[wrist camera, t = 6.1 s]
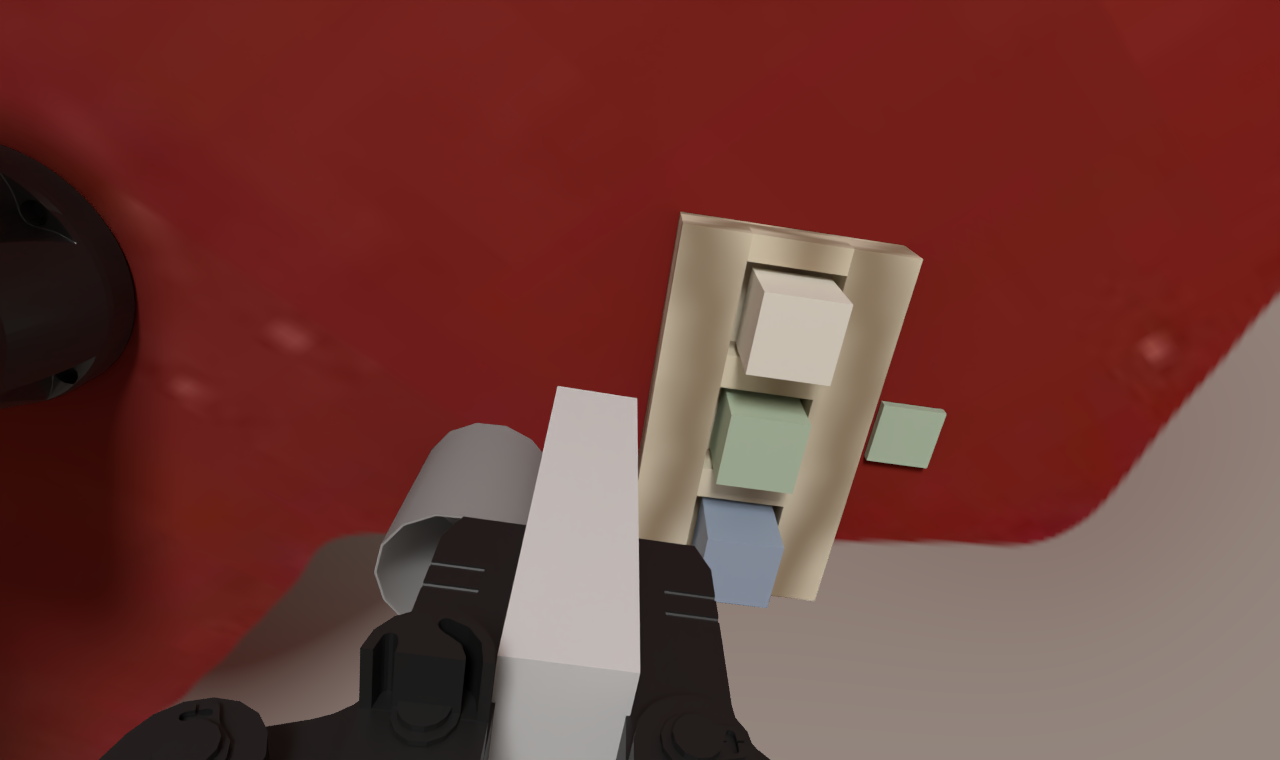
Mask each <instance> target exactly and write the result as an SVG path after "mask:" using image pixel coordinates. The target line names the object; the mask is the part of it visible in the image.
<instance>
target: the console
mask: <svg viewBox="0 0 1280 760" xmlns="http://www.w3.org/2000/svg"><path fill="white" fill-rule="evenodd" d="M922 261H923V259H922V258H921V257H919V256H918V255H916V254H915V253H914V252H912V251H911V250H910V249H908V248H907V247H906V246H903V245H896V244H890V243H883V242H877V241H870V240H863V239H857V238H850V237H844V236H837V235H830V234H824V233H817V232H811V231H804V230H797V229H791V228H784V227H778V226H771V225H765V224H758V223H751V222H745V221H738V220H732V219H725V218H718V217H712V216H705V215H699V214H692V213H685V212H680V216H679V222H678V228H677V234H676V240H675V246H674V251H673V257H672V263H671V269H670V275H669V281H668V286H667V292H666V298H665V304H664V310H663V316H662V322H661V327H660V333H659V339H658V345H657V351H656V357H655V363H654V368H653V374H652V380H651V386H650V392H649V398H648V403H647V409H646V415H645V421H644V427H643V433H642V439H641V444H640V450H639V456H638V523H639V538H640V539H647V540H654V541H662V542H669V543H676V544H683V545H690V546H691V544H692V540H693V535H694V531H695V526H696V521H697V517H698V512H699V508H700V503H701V499H702V496H703V497H711V498H719V499H727V500H734V501H742V502H750V503H758V504H765V505H772V507H773V511H774V514H775V518H776V521H777V525H778V528H779V532H780V535H781V539H782V543H783V546H784V551H783V554H782V558H781V561H780V565H779V568H778V572H777V575H776V579H775V582H774V586H773V589H772V593H771V596H778V597H786V598H794V599H802V600H810V601H815V598H816V595H817V592H818V589H819V586H820V582H821V579H822V576H823V573H824V570H825V566H826V564H827V560H828V557H829V554H830V551H831V548H832V545H833V542H834V538H835V535H836V532H837V529H838V526H839V523H840V519H841V516H842V513H843V510H844V507H845V504H846V501H847V497H848V494H849V491H850V488H851V485H852V482H853V479H854V475H855V472H856V469H857V466H858V463H859V460H860V456H861V453H862V450H863V447H864V444H865V441H866V438H867V434H868V431H869V428H870V425H871V422H872V419H873V416H874V412H875V409H876V406H877V403H878V400H879V397H880V393H881V390H882V387H883V384H884V381H885V378H886V375H887V371H888V368H889V365H890V362H891V359H892V356H893V353H894V349H895V346H896V343H897V340H898V337H899V334H900V331H901V327H902V324H903V321H904V318H905V315H906V312H907V308H908V305H909V302H910V299H911V296H912V293H913V290H914V286H915V283H916V280H917V277H918V274H919V271H920V268H921V264H922ZM752 267H754V268H761V269H768V270H774V271H781V272H788V273H795V274H801V275H808V276H815V277H822V278H828V279H832V280H833V281H834V282H835V283H836V285H837V286H838V287H839V288H840V289H841V291H842V292H843V293H844V294H845V295H846V297H847V298H848V299H849V300H850V301H851V303H852V304H853V308H852V312H851V315H850V319H849V322H848V326H847V329H846V333H845V336H844V340H843V343H842V347H841V350H840V354H839V357H838V361H837V364H836V368H835V371H834V375H833V378H832V382H831V385H830V386H825V385H818V384H811V383H804V382H796V381H789V380H782V379H775V378H768V377H761V376H753V375H746V374H745V371H744V368H743V364H742V361H741V358H740V355H739V352H738V349H737V346H736V339H737V334H738V329H739V325H740V320H741V316H742V311H743V307H744V302H745V297H746V293H747V288H748V284H749V279H750V275H751V270H752ZM722 387H723V388H730V389H737V390H745V391H752V392H759V393H766V394H774V395H781V396H788V397H795V398H799V399H800V402H801V404H802V406H803V408H804V411H805V413H806V415H807V417H808V419H809V422H810V424H811V430H810V433H809V437H808V440H807V444H806V447H805V451H804V455H803V458H802V462H801V465H800V469H799V472H798V476H797V480H796V483H795V487H794V490H793V494H788V493H781V492H773V491H765V490H758V489H750V488H742V487H735V486H727V485H719V484H716V481H715V475H714V469H713V463H712V457H711V451H710V441H711V436H712V432H713V427H714V422H715V418H716V413H717V409H718V404H719V399H720V395H721V390H722Z"/></svg>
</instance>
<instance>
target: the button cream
mask: <svg viewBox="0 0 1280 760" xmlns="http://www.w3.org/2000/svg"><path fill="white" fill-rule="evenodd" d="M852 308H853V304H852V303H851V301H850V300H849V299H848V298H847V297H846V295H845V294H844V293H843V292H842V291H841V289H840V288H839V287H838V286H837V285H836V283H835V282H834V281H833V280H832V279H828V278H822V277H815V276H808V275H801V274H795V273H788V272H781V271H774V270H768V269H761V268H754V267H752V270H751V275H750V279H749V284H748V288H747V293H746V297H745V302H744V307H743V311H742V316H741V320H740V325H739V329H738V334H737V339H736V346H737V349H738V352H739V355H740V358H741V361H742V364H743V368H744V371H745V374H746V375H753V376H761V377H768V378H775V379H782V380H789V381H796V382H804V383H811V384H818V385H825V386H830V385H831V382H832V378H833V375H834V371H835V368H836V364H837V361H838V357H839V354H840V350H841V347H842V343H843V340H844V336H845V333H846V329H847V326H848V322H849V319H850V315H851V312H852Z"/></svg>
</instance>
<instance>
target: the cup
mask: <svg viewBox="0 0 1280 760" xmlns="http://www.w3.org/2000/svg"><path fill="white" fill-rule="evenodd" d="M542 454H543V453H542V452H541V451H540V450H539V448H538V447H537V446H536V444H535V443H534V442H533V441H532V440H531V439H529V438H528V437H526V436H524V435H522V434H520V433H518V432H516V431H514V430H512V429H511V428H509V427H507V426H501V425H491V424H480V423H475V424H472V425H469V426H466V427H463V428H460V429H457V430H453V431H450V432H449V433H448V434H447V435H446V436H445V437H444V438H443V439H442V440H441V441H440V442H439V443H438V444H437V445H436V446H435V447H434V448H433V449H432V450H431V452H430V454H429V456H428V458H427V459H426V461H425V463H424V465H423V467H422V469H421V471H420V473H419V474H418V476H417V478H416V480H415V482H414V484H413V486H412V487H411V489H410V491H409V493H408V495H407V497H406V499H405V501H404V502H403V504H402V506H401V508H400V510H399V512H398V514H397V515H396V517H395V519H394V521H393V523H392V525H391V527H390V529H389V530H388V532H387V534H386V536H385V538H384V540H383V542H382V544H381V546H380V550H379V554H378V558H377V562H376V566H375V571H374V573H375V576H376V579H377V582H378V585H379V588H380V591H381V594H382V597H383V600H384V601H385V602H386V603H387V604H388V605H389V606H390V607H391V608H392V609H393V610H394V611H395V612H396V613H397V614H398V615H401V614H404V613H408V612H411V611H412V609H413V606H414V604H415V601H416V599H417V596H418V594H419V591H420V589H421V587H422V586H423V581H424V578H425V576H426V573H427V571H428V568H429V566H431V561H432V558H433V556H434V553H435V551H436V548H437V545H438V543H439V540H440V538H441V536H442V535H443V534H444V533H445V532H446V531H447V530H449V529H450V528H451V527H452V526H453V525H454V524H455V523H457V522H458V521H459V520H460V519H461V518H462V517H464V516H465V517H472V518H479V519H486V520H493V521H501V522H508V523H515V524H522V525H527V521H528V516H529V512H530V507H531V503H532V499H533V494H534V490H535V485H536V481H537V476H538V472H539V467H540V463H541V458H542Z"/></svg>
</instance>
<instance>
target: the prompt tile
mask: <svg viewBox="0 0 1280 760" xmlns="http://www.w3.org/2000/svg"><path fill="white" fill-rule="evenodd" d="M945 417H946V412H945V411H944V410H943V409H936V408H929V407H921V406H914V405H907V404H900V403H893V402H885V401H881V404H880V407H879V411H878V414H877V417H876V420H875V423H874V426H873V429H872V432H871V436H870V439H869V442H868V445H867V448H866V451H865V454H864V456H865V458H866V460H868V461H875V462H883V463H890V464H898V465H905V466H912V467H920V468H927V467H928V464H929V461H930V458H931V456H932V453H933V450H934V447H935V445H936V442H937V439H938V436H939V434H940V431H941V428H942V425H943V423H944V420H945Z"/></svg>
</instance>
